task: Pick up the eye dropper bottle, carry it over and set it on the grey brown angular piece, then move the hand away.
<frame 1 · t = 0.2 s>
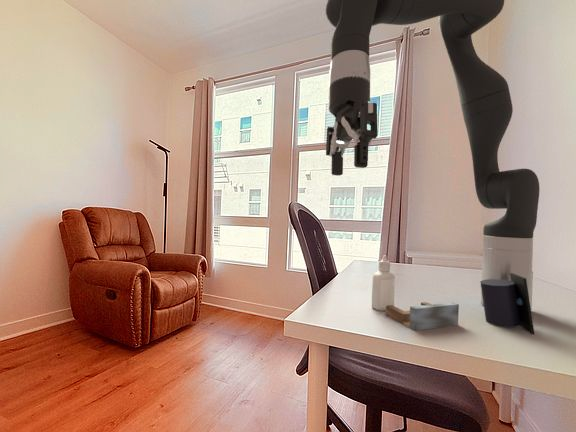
hand: (347, 171, 49), 29 cm above the table, tool pointing down, fingers open, 8 cm apart
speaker: (503, 325, 52), on the table
grey brown angular piece: (413, 316, 55), on the table
eye dropper bottle: (382, 308, 60), on the table
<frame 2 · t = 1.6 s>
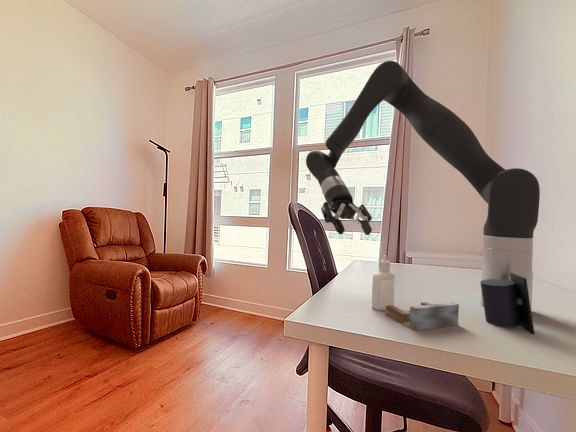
hand: (356, 232, 70), 16 cm above the table, tool tilted 45°, fingers open, 8 cm apart
nothing on the table moved.
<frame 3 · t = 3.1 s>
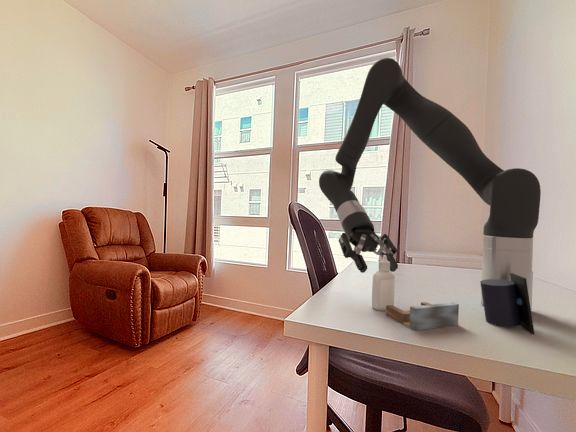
hand: (380, 270, 61), 8 cm above the table, tool tilted 45°, fingers open, 8 cm apart
nothing on the table moved.
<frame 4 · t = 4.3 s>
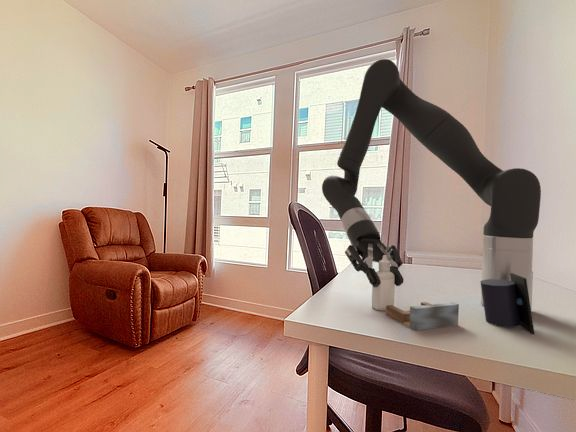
hand: (389, 284, 58), 6 cm above the table, tool tilted 45°, fingers closed on eye dropper bottle, 5 cm apart
eye dropper bottle: (382, 308, 60), on the table, touching gripper
everything else where it was.
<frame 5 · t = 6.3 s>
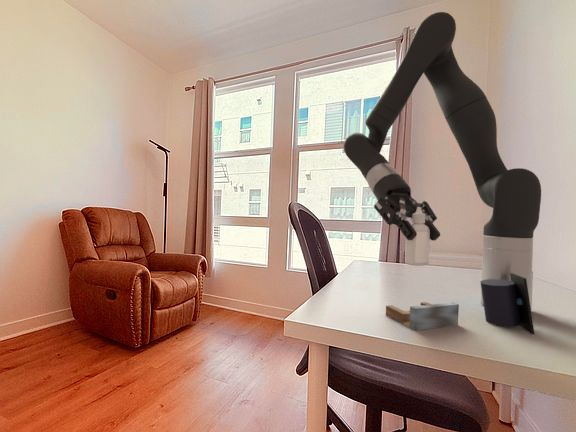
hand: (424, 237, 53), 17 cm above the table, tool tilted 45°, fingers closed on eye dropper bottle, 5 cm apart
eye dropper bottle: (416, 265, 55), point 11 cm above the table, touching gripper
everything else where it was.
when the fingers open (8 cm above the table, at t = 8.4 s): eye dropper bottle drops 1 cm, resting on grey brown angular piece.
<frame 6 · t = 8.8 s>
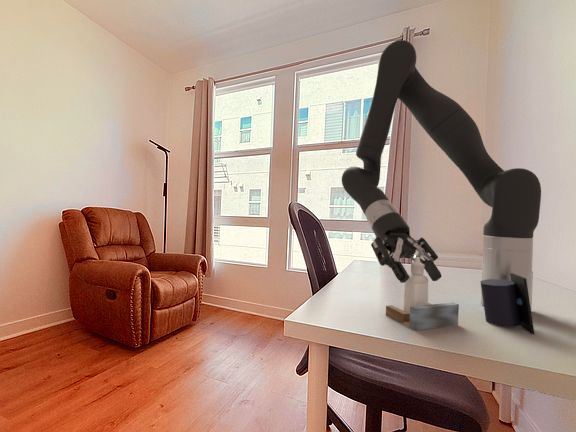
hand: (422, 279, 53), 8 cm above the table, tool tilted 45°, fingers open, 8 cm apart
eye dropper bottle: (415, 315, 55), resting on grey brown angular piece
everything else where it was.
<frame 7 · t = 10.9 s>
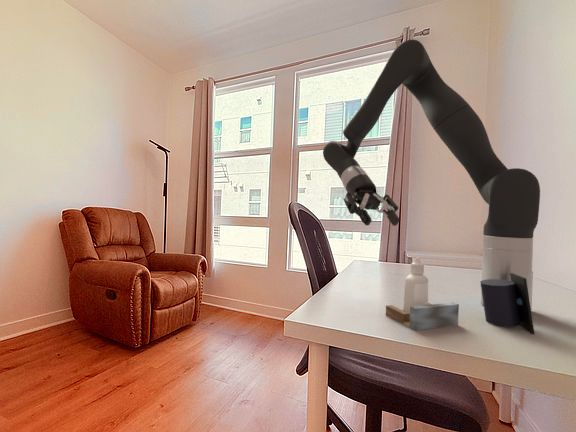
hand: (383, 223, 66), 19 cm above the table, tool tilted 45°, fingers open, 8 cm apart
nothing on the table moved.
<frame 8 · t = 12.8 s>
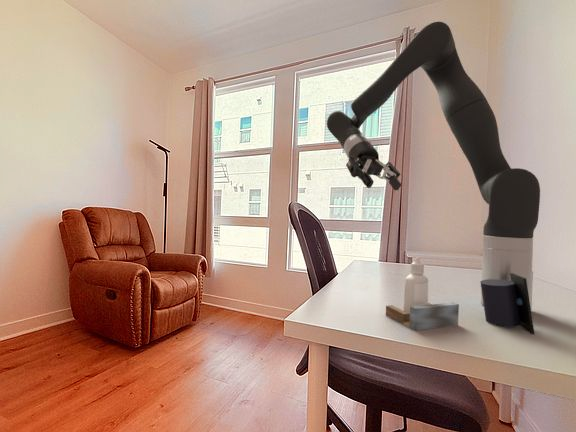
hand: (385, 186, 66), 29 cm above the table, tool tilted 45°, fingers open, 8 cm apart
nothing on the table moved.
at the end: eye dropper bottle 0.3 cm off-centre on the grey brown angular piece, point 0.3 cm above the grey brown angular piece's base; eye dropper bottle tilted 0°; the gripper is holding nothing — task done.
